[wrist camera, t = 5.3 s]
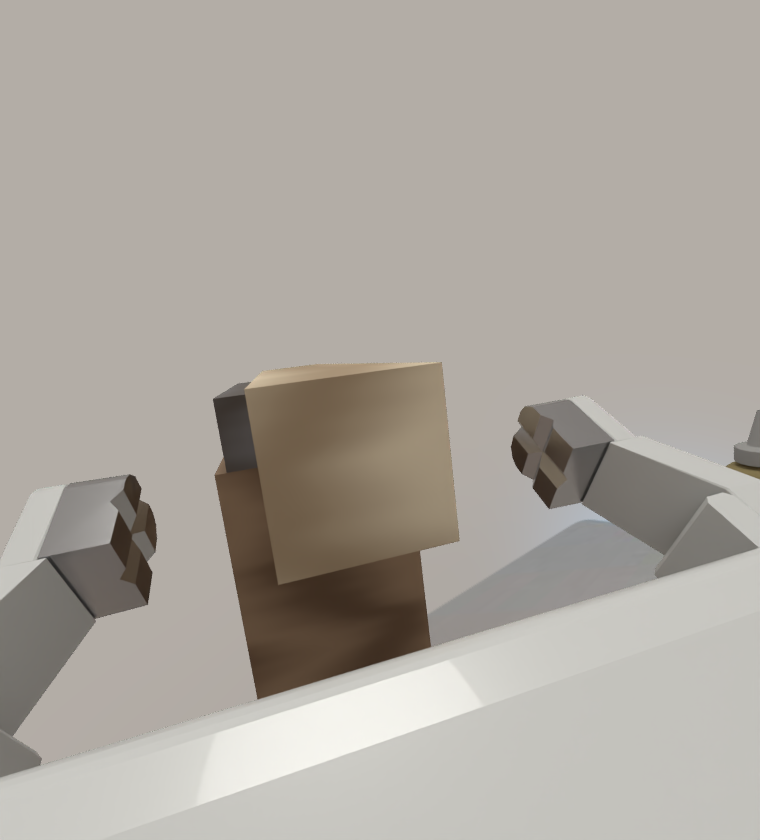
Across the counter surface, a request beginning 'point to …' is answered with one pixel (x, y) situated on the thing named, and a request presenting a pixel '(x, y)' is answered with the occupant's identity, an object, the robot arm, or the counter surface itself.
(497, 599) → the counter surface
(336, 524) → the beech bar
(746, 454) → the squeeze bottle
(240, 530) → the tall stand
